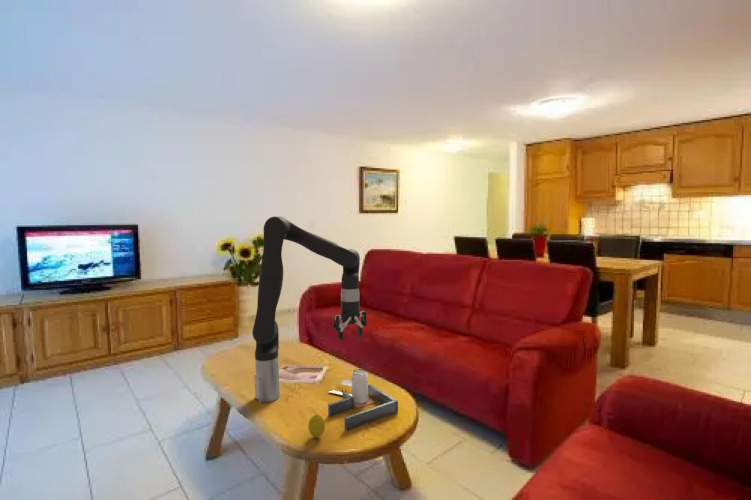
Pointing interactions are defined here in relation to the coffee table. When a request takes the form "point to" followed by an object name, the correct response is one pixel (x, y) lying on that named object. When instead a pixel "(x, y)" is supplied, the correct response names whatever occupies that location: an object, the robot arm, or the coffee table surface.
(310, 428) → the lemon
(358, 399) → the can
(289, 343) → the coffee table surface
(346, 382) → the white strips
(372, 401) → the pad
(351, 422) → the guide rails
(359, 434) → the coffee table surface
